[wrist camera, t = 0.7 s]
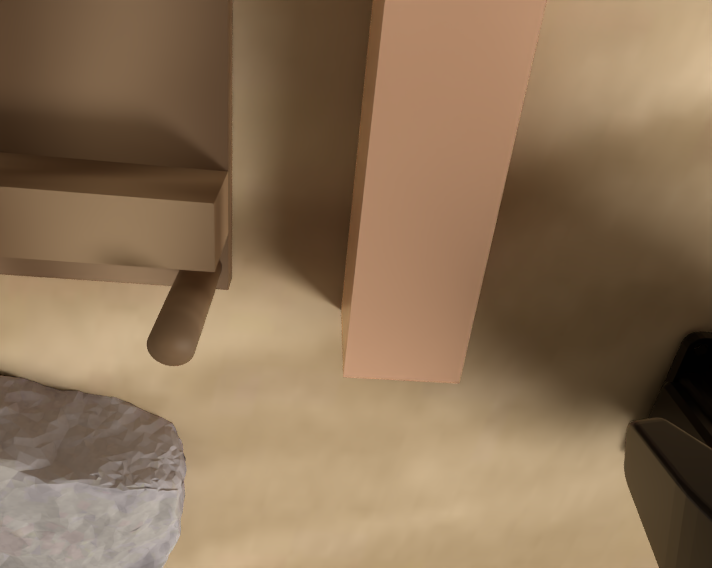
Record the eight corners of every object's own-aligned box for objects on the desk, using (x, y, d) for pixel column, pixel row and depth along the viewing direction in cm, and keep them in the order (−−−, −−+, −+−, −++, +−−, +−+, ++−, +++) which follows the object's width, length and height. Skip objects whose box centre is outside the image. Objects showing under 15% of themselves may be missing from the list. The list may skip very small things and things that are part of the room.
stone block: (210, 386, 25) (-74, 345, 21) (212, 483, 21) (-132, 454, 17) (145, 554, 31) (-88, 545, 27) (138, 655, 27) (-135, 662, 23)
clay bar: (390, -188, 15) (410, -228, 11) (531, -170, 15) (593, -203, 11) (340, 306, 21) (343, 377, 18) (438, 312, 22) (459, 383, 18)
